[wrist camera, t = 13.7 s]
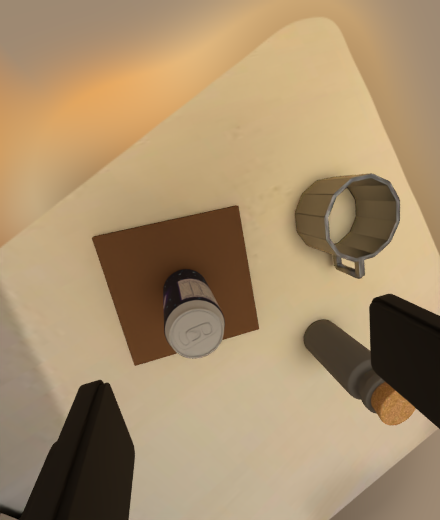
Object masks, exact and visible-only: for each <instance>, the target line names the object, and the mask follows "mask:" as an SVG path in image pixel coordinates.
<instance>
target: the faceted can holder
mask: <svg viewBox="0 0 440 520" xmlns="http://www.w3.org/2000/svg"><path fill="white" fill-rule="evenodd" d="M347 187H348V188H349V190H350V192H351V193H352V195H353V196H354V198H355V200H356V219H355V221H354V223H353V226H352V228H351V231H350V233H348V234H347V235H346V236H345V237H344V238H343V239H342V240H341V241H340V242H339V243H337V244H334V243H333V242H332V241H331V239H330V235H329V222H328V217H329V214H330V212H331V209H332V207H333V204H334V202H335V199H336V197H337V196H338V195H339V194H340V193H341V192H342V191H343V190H344V189H345V188H347ZM295 219H296V228H297V232H298V234H299V235H300V236H301V238H302V239H303V240H304V242H305V243H306V244H307V245H308V246H310V247H313V248H316V249H319V250H321V251H324V252H327V253H330V254H333V259H334V266H335V268H336V269H337V270H339V271H341V272H344V273H346V274H348V275H350V276H353V277H355V278H357V279H360V278H362V277H363V276H364V275H365V268H364V260H365V259H369V258H372V257H375V256H376V255H377V254H378V253H379V252H380V251H382V250H383V249H384V248H385V247H386V246H387V245H388V244H389V243H390V242H391V240H392V238H393V236H394V233H395V231H396V229H397V227H398V224H399V221H400V200H399V197H398V195H397V193H396V192H395V190H394V188H393V186H392V184H391V183H390V182H389V181H388V180H385V179H383V178H381V177H379V176H377V175H375V174H360V175H350V176H339V177H331V178H326V179H322V180H317V181H316V182H315V183H313V184H312V185H311V186H310V187H309V188H308V189H307V190H306V191H305V192H304V193H303V194H302V195H301V198H300V201H299V203H298V206H297V209H296V211H295ZM341 258H344V259H347V260H350V261H353V262H355V269H353V268H351V267H348V266H346V265H343V264H342V260H341Z"/></svg>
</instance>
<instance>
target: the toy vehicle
mask: <svg viewBox="0 0 440 520" xmlns="http://www.w3.org/2000/svg"><path fill="white" fill-rule="evenodd" d="M20 518H21V517H20ZM0 520H18V519H15V518H13V517H10V516H7V515H5V514H2V513H0ZM19 520H20V519H19Z"/></svg>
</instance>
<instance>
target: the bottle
mask: <svg viewBox="0 0 440 520" xmlns="http://www.w3.org/2000/svg"><path fill="white" fill-rule="evenodd" d="M304 344H305V346H306V348H307V349H308V350H309V351H310V352H311V353H312V355H313V356H314V357H315V358H316V359H317V360H318V361H319V362H320V363H321V364H322V365H323V366H324V367H325V368H326V369H327V371H328V372H329V373H330V374H331V375H332V376H333V377H334V378H335V379H336V380H337V381H338V382H339V383H340V384H341V385H342V387H343V388H344V389H345V390H346V391H347V392H348V393H349V394H350V395H351V396H353V397H354V398H356V399H361V400H362V402H363V404H364V405H365V406H366V407H367V408H368V409H369V410H370V411H371V412H373V413H377V414H378V416H379V417H380V419H381V420H382V422H384V423H385V424H387V425H397V424H400V423H402V422H404V421H405V420H407V419H408V418H409V417H410V416H411V415H412V413H413V412H414V410H415V407H414V406H413V405H412V404H410V403H409V402H408V401H407V400H406V399H405V398H404V397H402V396H401V395H400V394H399V393H398V392H397V391H395V390H394V389H393V388H392V387H391V386H390V385H389V384H387V383H386V382H385V381H384V380H383V379H382V378H380V377H379V376H378V375H377V374H376V373H375V372H374V370H373V368H372V366H371V351H370V350H368V349H367V348H366V347H364V346H363V345H362V344H360V343H359V342H358V341H356V340H355V339H354V338H352V337H351V336H350V335H348V334H347V333H346V332H344V331H343V330H342V329H340V328H339V327H338V326H336V325H335V324H334V323H332V322H330V321H328V320H319V321H316V322H314V323H313V324H311V325H310V326H309V328H308V329H307V330H306V332H305V335H304Z"/></svg>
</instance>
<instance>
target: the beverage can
mask: <svg viewBox="0 0 440 520" xmlns="http://www.w3.org/2000/svg"><path fill="white" fill-rule="evenodd" d="M163 307H164V334H165V337H166V340H167V342H168V343H169V344H170V346H171V347H172V348H173V349H174V351H176V352H177V353H178V354H179V355H181V356H183V357H186V358H192V359H196V358H202V357H205V356H207V355H209V354H211V353H212V352H213V351H215V350H216V349H217V348H218V346H219V345H220V343H221V341H222V339H223V335H224V329H225V319H224V316H223V313H222V311H221V309H220V307H219V305H218V303H217V302H216V300H215V298H214V296H213V294H212V292H211V290H210V288H209V286H208V284H207V282H206V280H205V278H204V277H203V276H202V275H201V274H200V273H198V272H197V271H194V270H190V269H183V270H179V271H176V272H174V273H173V274H171V275H170V276H169V277H168V279H167V280H166V282H165V284H164V287H163Z"/></svg>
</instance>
